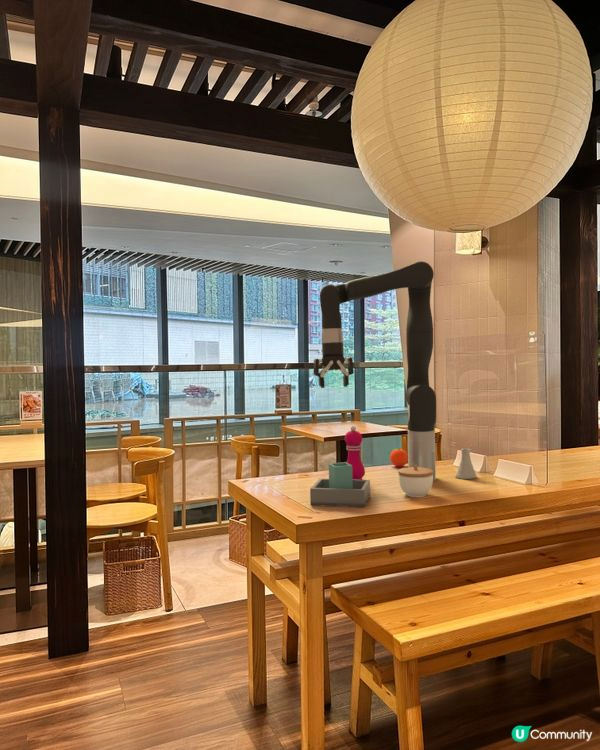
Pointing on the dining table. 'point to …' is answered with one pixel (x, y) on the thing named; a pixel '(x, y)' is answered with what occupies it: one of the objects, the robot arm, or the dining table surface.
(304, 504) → the dining table surface
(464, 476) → the flask
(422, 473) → the lidded jar
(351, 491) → the tray
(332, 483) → the teal crate
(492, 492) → the dining table surface
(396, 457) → the clementine
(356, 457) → the pepper mill
